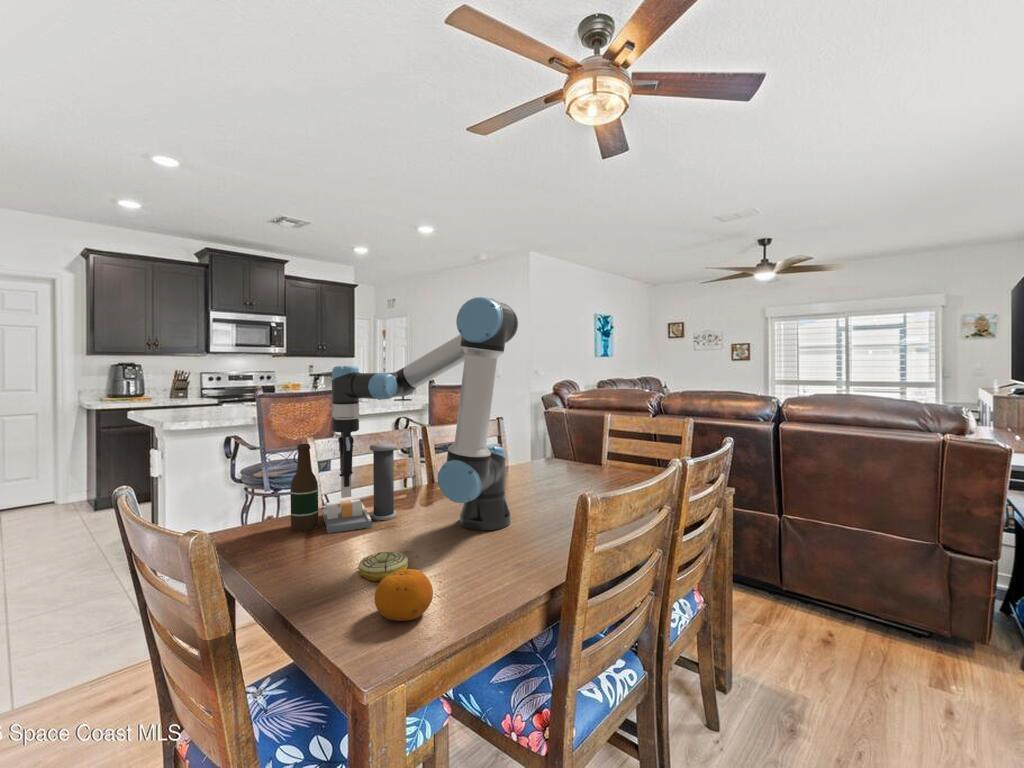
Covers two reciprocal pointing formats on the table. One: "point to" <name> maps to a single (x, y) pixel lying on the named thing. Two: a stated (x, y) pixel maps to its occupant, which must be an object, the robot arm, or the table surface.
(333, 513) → the paddle left
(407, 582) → the fruit
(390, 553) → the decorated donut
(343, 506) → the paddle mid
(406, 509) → the table surface
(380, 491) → the tall grey cylinder
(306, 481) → the beer bottle
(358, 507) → the paddle right
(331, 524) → the panel
